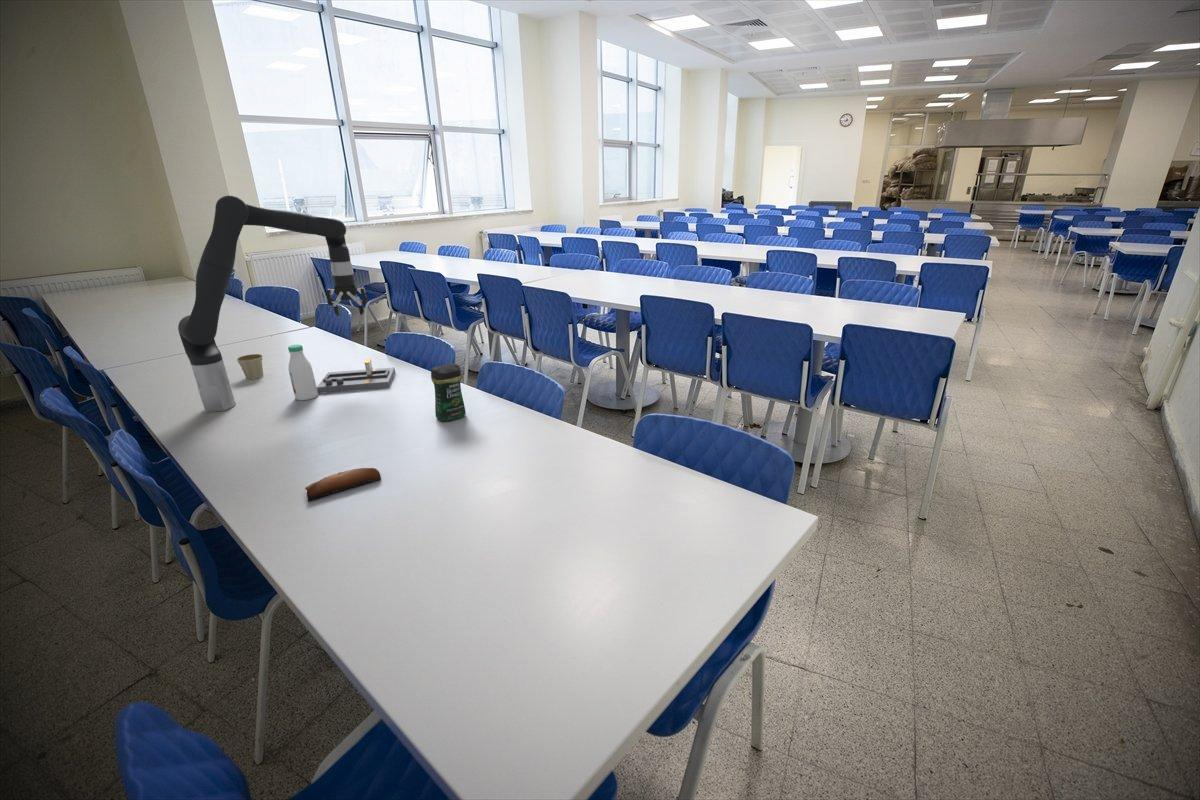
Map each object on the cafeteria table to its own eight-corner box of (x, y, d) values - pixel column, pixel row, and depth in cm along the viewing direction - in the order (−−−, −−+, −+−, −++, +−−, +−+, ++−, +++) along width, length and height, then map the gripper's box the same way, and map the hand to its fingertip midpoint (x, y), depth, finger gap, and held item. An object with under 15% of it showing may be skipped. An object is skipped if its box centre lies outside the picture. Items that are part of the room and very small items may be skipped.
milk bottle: (322, 393, 204) (311, 343, 197) (310, 401, 197) (298, 349, 189) (303, 393, 205) (291, 342, 197) (290, 400, 198) (277, 348, 190)
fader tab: (371, 377, 213) (369, 362, 211) (367, 377, 213) (364, 362, 210) (373, 373, 217) (370, 359, 215) (369, 373, 217) (366, 359, 214)
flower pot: (259, 381, 218) (253, 360, 215) (236, 381, 219) (230, 360, 215) (272, 373, 227) (267, 353, 224) (250, 373, 227) (245, 354, 224)
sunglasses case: (373, 467, 150) (373, 454, 145) (381, 487, 147) (381, 474, 142) (302, 488, 140) (299, 474, 136) (309, 510, 137) (307, 497, 132)
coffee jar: (443, 424, 177) (436, 371, 170) (433, 417, 182) (425, 365, 175) (469, 416, 183) (464, 364, 175) (459, 409, 188) (452, 359, 181)
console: (389, 387, 209) (387, 377, 208) (317, 393, 204) (315, 383, 203) (395, 372, 226) (393, 363, 224) (329, 378, 221) (327, 368, 219)
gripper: (320, 275, 201) (328, 317, 207) (360, 274, 203) (367, 316, 209) (325, 272, 208) (333, 313, 214) (364, 271, 210) (371, 312, 216)
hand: (350, 314), depth 211 cm, fingers open, 8 cm apart
